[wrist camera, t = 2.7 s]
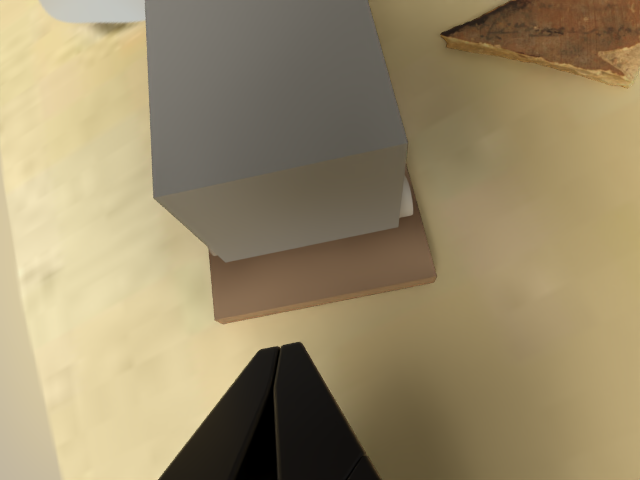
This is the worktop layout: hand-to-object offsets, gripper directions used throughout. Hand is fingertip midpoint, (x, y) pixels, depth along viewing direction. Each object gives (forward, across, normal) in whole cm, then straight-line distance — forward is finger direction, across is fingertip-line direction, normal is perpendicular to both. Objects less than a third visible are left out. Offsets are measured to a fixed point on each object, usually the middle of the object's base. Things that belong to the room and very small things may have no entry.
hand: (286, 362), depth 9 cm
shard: (+22, -16, -1) cm, 27 cm away
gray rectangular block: (+15, 0, -1) cm, 15 cm away
